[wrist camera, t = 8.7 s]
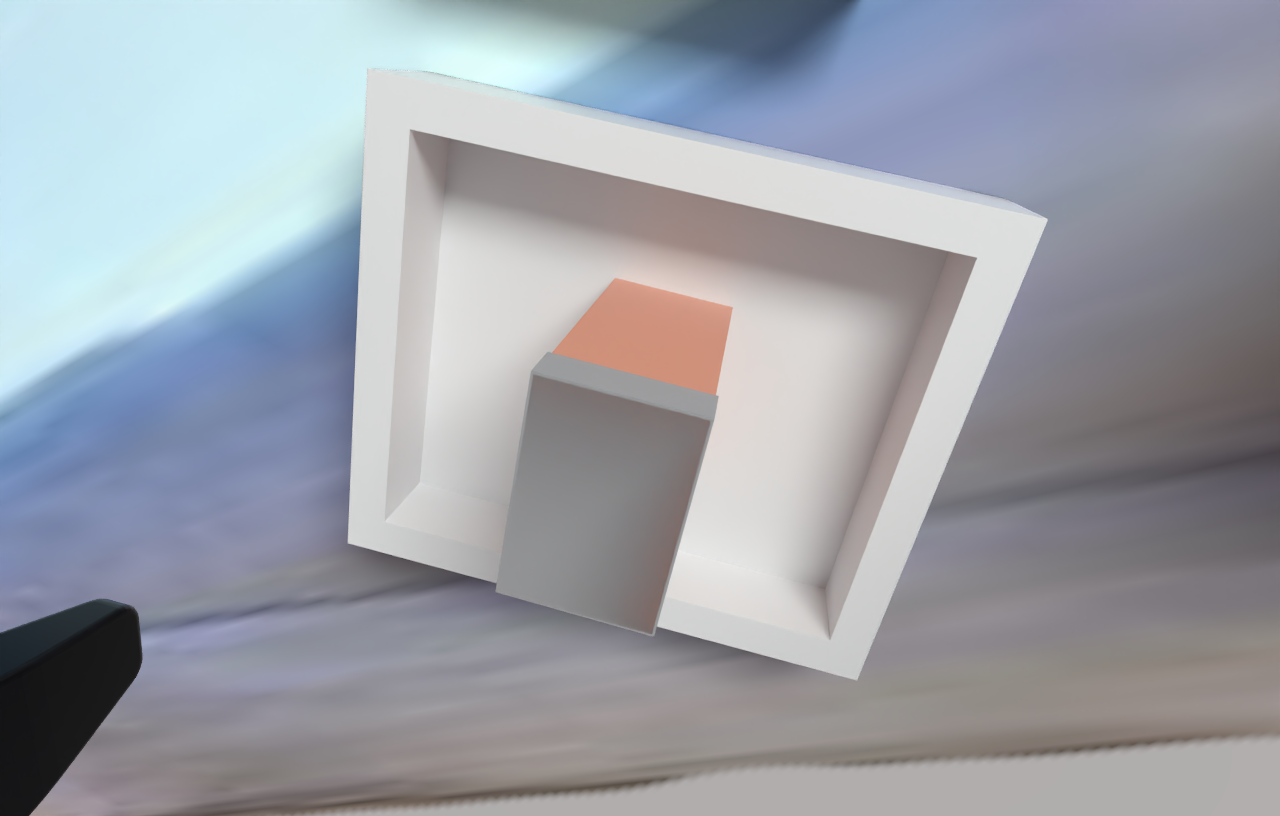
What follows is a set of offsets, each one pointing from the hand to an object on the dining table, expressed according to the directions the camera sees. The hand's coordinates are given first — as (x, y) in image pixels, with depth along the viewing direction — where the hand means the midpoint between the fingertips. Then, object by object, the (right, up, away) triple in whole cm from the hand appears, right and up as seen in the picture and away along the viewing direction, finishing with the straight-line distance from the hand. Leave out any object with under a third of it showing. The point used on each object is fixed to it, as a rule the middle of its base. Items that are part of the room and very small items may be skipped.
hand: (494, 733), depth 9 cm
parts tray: (+2, +5, +12) cm, 13 cm away
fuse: (+2, +5, +11) cm, 12 cm away
